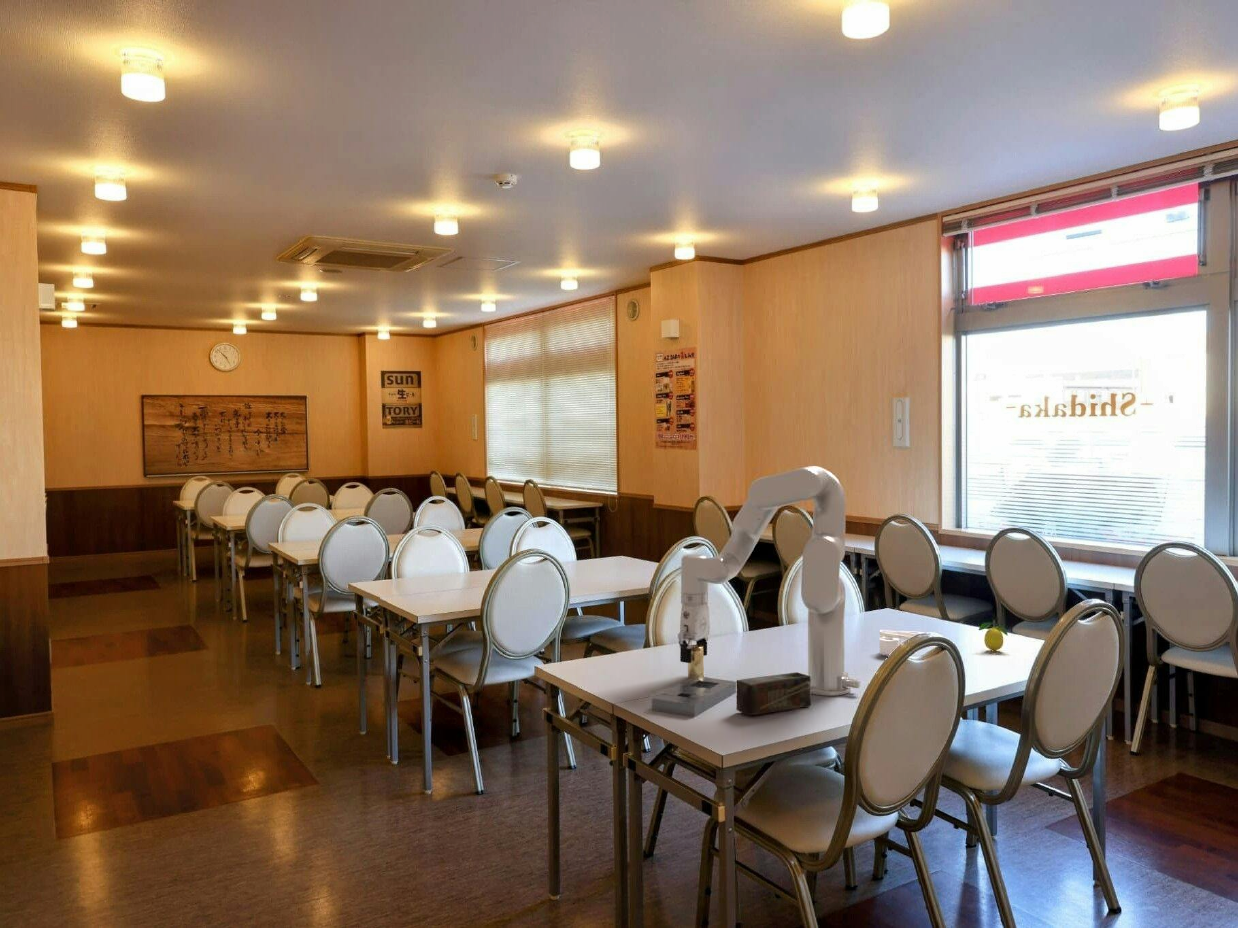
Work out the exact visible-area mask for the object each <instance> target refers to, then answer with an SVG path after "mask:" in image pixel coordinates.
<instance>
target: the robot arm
mask: <svg viewBox="0 0 1238 928" xmlns="http://www.w3.org/2000/svg"><path fill="white" fill-rule="evenodd" d="M808 500H809V501H810V500H812V501H813V513H812V530H811V531H812V532H811V538H810V539H808V541H807V543H805V545H804V549H803V553H802V565H801V580H800V581H801V583H800V584H801V585H800V586H801V587H800V595H801V596H800V597H801V601H802V604H803V605H804V606H805V608H807V609H808V611H807V670H808V671H807V675H808V676H810V678H811V695H812V694H813V695H818V696H828V697H831V696H832V697H833V696H834V697H835V696H836V697H837V696H843V695H847V694H849V693H850V692H851V689H860V687H861V681H860V680H859V679H858V678H850V677H849V674H848V672H846V671H845V611H846V609H845V608H846V586H845V584H844V581H843V579H842V578H841V577H840V572H841V571H840V567H841V566H840V565H841V562H842V561H843V560H844V558H845V554H846V526H847V525H846V524H847V523H846V516H847V515H846V513H847V507H846V506H847V504H846V502H847V501H846V495H845V489H844V487H843V485H842V484H841V482H840V481H839V479H838V478H837V476H835V475H834V474H832V472H831V471H829V470H827V469H825V468H823V467H821V466H817V465H809V466H808V465H807V466H804V467H799V468H796V469H793V470H789V471H785V472H781V473H777V474H774V475H769V476H762V477H759V478H756V479H755V480H754V481H753V482H752V483H750V485H749V488H748V491H747V498H746V500H745V502H744V503H743V505H742V507H741V508H740V510H738V513H737V514H736V516H735V517H734V519H733V522H732V527H733V528H732V532H731V534H730V536H729V539H728V540H727V542H726V544H725V545H724V547H723V548H722V550H721V551H720V553H718V554H717V555H715V556H713V557H707V556H706V555H704V554H698V553H697V554H696V553H691V554H690V553H688V554H684V555H683V556H682V557H681V560H680V561H681V563H680V569H681V570H680V573H681V574H680V578H681V579H680V580H681V581H680V586H681V587H680V604H681V611H680V619H679V620H680V621H679V628H680V629H679V632H678V634H677V639H678V644H679V649H680V650H679V651H680V654H679V655H680V656H679V658H680V659H679V660H680V662H681V663H687V664H688V663H691V649H690V647H691V645H693V642H696V644H695V645H702V646H703V657H705V656H707V655H708V639H709V637H708V636H709V635H710V631H711V629H710V625H711V624H710V612H709V611H710V610H709V608H710V607H709V604H708V603H709V600H708V598H709V596H708V595H709V593H708V592H709V584H714V585H722V584H724V583H726V582H729V581H730V580H732V579H733V578H735V577H736V576H737V575H738V574H739V573H740V571H741V570H742V568H743V567H744V566H745V564H746V562H747V560H748V559H749V557H750V556H751V554H752V552H753V551H754V548H755V547H756V545H757V544H758V542H759V540H760V538H761V536H762V534H763V533H764V531H765V530H766V528H767V526H768V525H769V524H770V522H771V520H772V519H773V517H775V514H776V513H777V511H778V510H779V508H781V507H784V506H788V505H792V504H797V503H800V502H801V503H802V502H804V501H805V502H807V501H808Z"/></svg>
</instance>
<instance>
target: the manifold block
mask: <svg viewBox="0 0 1238 928" xmlns="http://www.w3.org/2000/svg"><path fill="white" fill-rule="evenodd" d="M735 694H737V681H734V680H727V679H721V678H720V679H719V678H713V677H706V676H704V677H700V676H694V677H692V678H690V679H687V680H685V681H683V682H680V683H679V684H676V685H675V686H673V687H671V688H669V689H667V690H665V691H663V692H662V693H661V692H660V693H659V694H657V695H655V696H653V697H652V698H651V711H655V712H663V713H667V714H674V715H680V716H685V717H690V718H696V717H698V716H699V715H701V714H703V713H705V712H706V711H708V710H710V709H711V708H712V707H713V708H714V706H716V705H718V704H720V703H721V702H723V701H724V700H726V699H728V698H729V697H731V696H733V695H735Z"/></svg>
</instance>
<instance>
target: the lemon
mask: <svg viewBox="0 0 1238 928" xmlns="http://www.w3.org/2000/svg"><path fill="white" fill-rule="evenodd" d="M992 624H993V626H992V627H991V628H989V629H988V630H986V632H985V634H984V645H985V647H986V648H987V649H989V650H991V651H992V652H993V653H994V652H995V653H996V652H997V651H998V650H1000V649H1002V648H1003V646H1004V636H1003V634H1004V635H1006V636H1009V635H1008V632H1007V630H1006V629H1005V628H1004V627H1003V626H1000V625H995V621H993V622H983V623H982V624H981V625H980V626H979V628H978V631H983V630H985V629H987V628H988V627H990V626H991V625H992Z"/></svg>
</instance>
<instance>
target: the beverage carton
mask: <svg viewBox="0 0 1238 928" xmlns="http://www.w3.org/2000/svg"><path fill="white" fill-rule="evenodd" d="M811 696H812V693H811V678H810V676H808V674H807V675H806V674H805V673H801V672H789V673H788V672H787V673H781V674H780V673H779V674H773V675H764V676H755V677H749V678H742V679H737V680H736V710H737V711H738V712H741V713H742V714H744V715H747V716H755V715H760V714H768V713H775V712H781V711H786V710H794V709H799V708H803V707H804V708H805V707H811V705H812V699H811V698H812V697H811Z"/></svg>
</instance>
